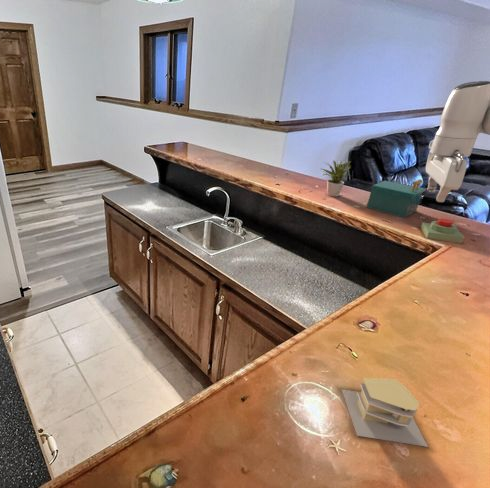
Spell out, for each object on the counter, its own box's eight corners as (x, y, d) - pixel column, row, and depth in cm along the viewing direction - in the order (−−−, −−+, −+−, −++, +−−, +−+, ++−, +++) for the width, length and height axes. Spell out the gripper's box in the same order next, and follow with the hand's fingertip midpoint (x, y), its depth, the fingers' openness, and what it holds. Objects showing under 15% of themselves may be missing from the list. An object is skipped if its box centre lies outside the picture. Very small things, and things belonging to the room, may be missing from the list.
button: (448, 224, 121) (450, 219, 121) (452, 228, 118) (454, 223, 117) (435, 222, 123) (437, 218, 122) (438, 226, 120) (440, 222, 119)
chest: (416, 211, 143) (423, 190, 139) (404, 217, 137) (411, 196, 133) (378, 201, 154) (384, 182, 150) (366, 207, 147) (372, 187, 143)
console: (453, 231, 124) (457, 221, 123) (461, 243, 116) (466, 232, 114) (420, 227, 128) (423, 217, 126) (426, 238, 120) (430, 227, 118)
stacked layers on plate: (356, 435, 54) (365, 411, 52) (341, 389, 62) (348, 366, 60) (427, 447, 53) (440, 422, 50) (402, 398, 60) (412, 374, 58)
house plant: (328, 187, 172) (335, 154, 165) (355, 195, 162) (364, 159, 155) (311, 192, 165) (317, 158, 158) (338, 200, 155) (346, 164, 148)
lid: (425, 190, 139) (429, 179, 137) (414, 196, 132) (418, 184, 130) (384, 182, 150) (387, 171, 148) (372, 187, 143) (375, 175, 141)
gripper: (480, 155, 85) (459, 209, 91) (454, 142, 102) (438, 187, 108) (449, 153, 87) (431, 206, 93) (428, 140, 104) (414, 185, 110)
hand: (434, 196), depth 100 cm, fingers open, 8 cm apart
